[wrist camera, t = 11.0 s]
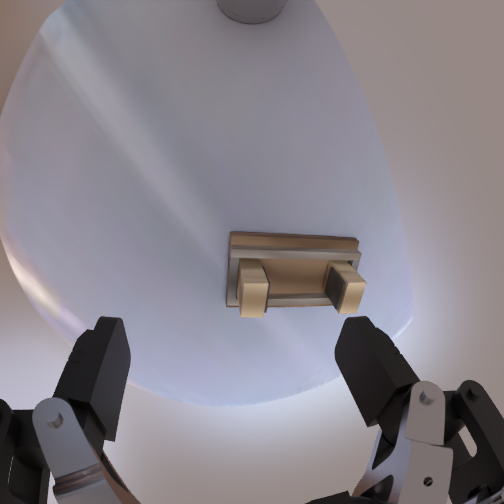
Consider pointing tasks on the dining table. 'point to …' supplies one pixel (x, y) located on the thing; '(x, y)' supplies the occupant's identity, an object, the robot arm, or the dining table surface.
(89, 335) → the robot arm
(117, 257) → the dining table surface
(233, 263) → the rail base
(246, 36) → the dining table surface
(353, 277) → the maple finger
